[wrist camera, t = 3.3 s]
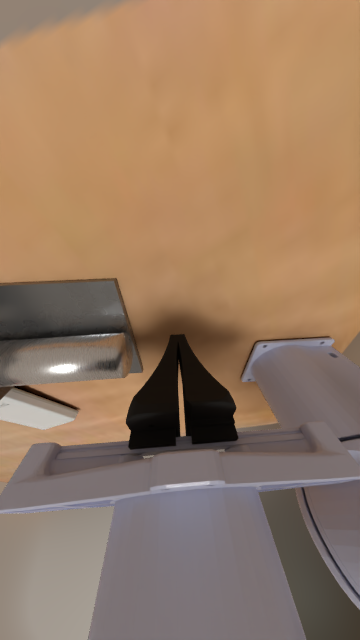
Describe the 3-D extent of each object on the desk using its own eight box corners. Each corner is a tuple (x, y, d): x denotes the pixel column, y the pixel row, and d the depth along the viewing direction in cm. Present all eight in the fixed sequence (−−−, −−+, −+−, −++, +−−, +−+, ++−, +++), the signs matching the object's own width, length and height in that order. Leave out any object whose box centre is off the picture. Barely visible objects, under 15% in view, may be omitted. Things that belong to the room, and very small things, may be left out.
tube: (120, 324, 12) (110, 371, 10) (134, 343, 15) (129, 381, 13) (-93, 338, 11) (-155, 391, 9) (-30, 354, 15) (-65, 396, 12)
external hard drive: (48, 419, 25) (-45, 394, 18) (80, 409, 23) (-11, 376, 16) (41, 430, 24) (-62, 408, 17) (74, 420, 22) (-27, 390, 15)
